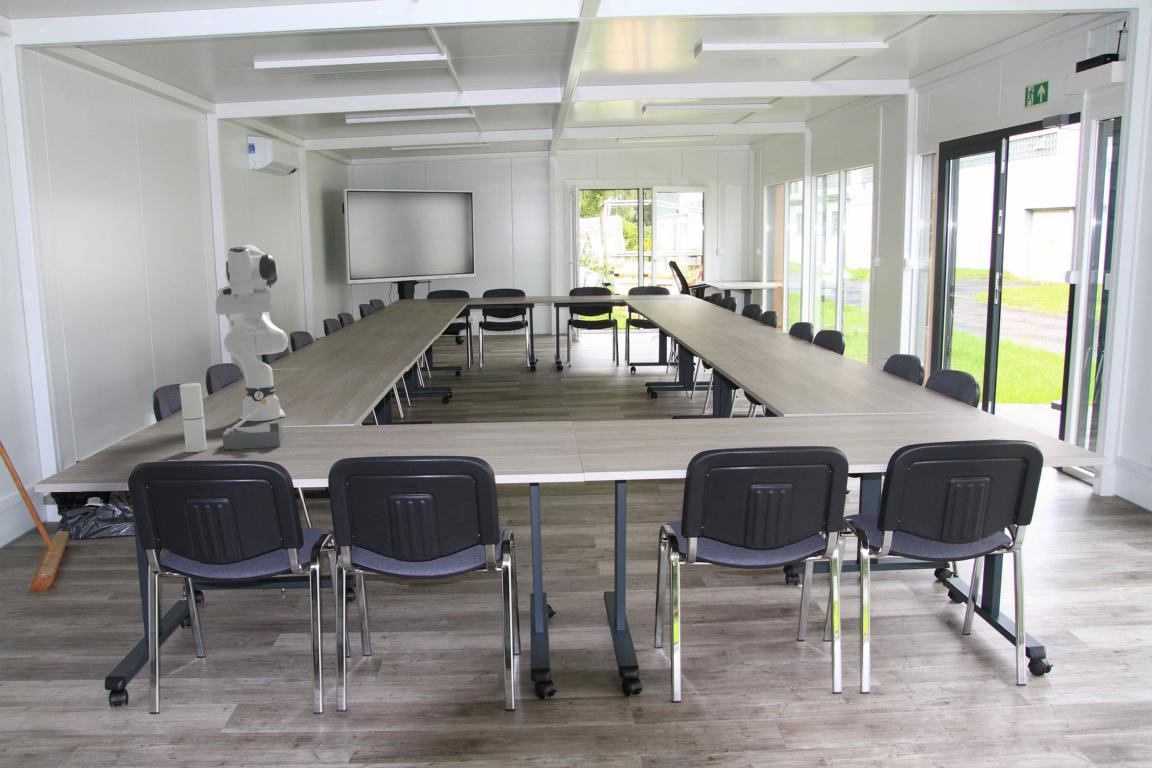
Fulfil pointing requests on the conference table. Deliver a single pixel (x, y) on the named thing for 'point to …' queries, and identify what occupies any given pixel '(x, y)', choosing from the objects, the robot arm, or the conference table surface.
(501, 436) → the conference table surface
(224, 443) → the clamp block
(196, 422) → the cylindrical container
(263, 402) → the lever
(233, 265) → the robot arm
